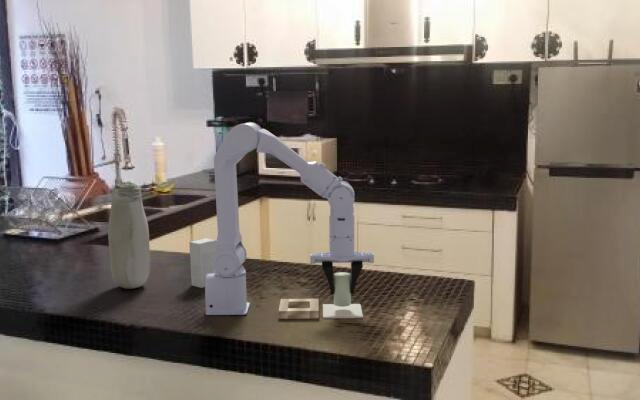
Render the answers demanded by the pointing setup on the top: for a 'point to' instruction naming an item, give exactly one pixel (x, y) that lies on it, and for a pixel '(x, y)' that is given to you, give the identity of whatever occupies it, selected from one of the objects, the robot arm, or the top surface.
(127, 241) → the pale grey-green bottle
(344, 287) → the sage peg
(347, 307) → the pad
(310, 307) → the pocket holder
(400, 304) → the top surface
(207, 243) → the skincare box
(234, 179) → the robot arm
